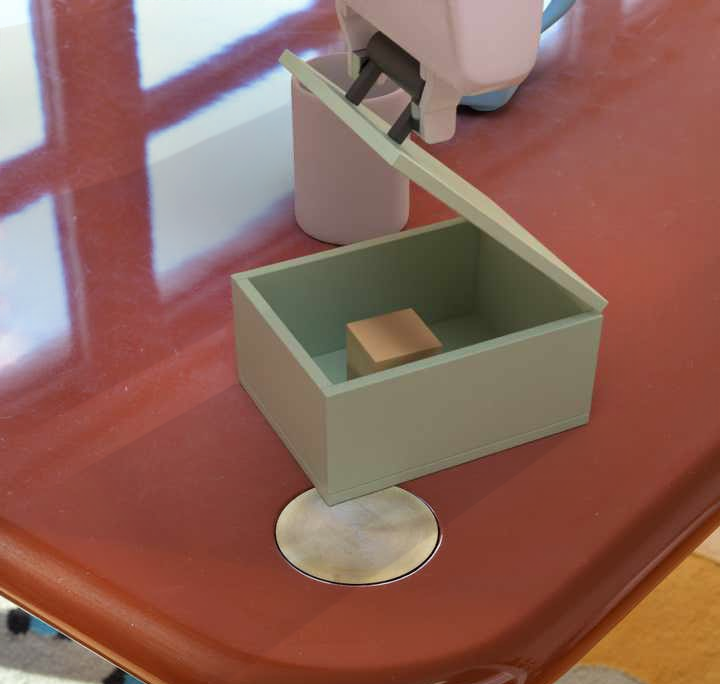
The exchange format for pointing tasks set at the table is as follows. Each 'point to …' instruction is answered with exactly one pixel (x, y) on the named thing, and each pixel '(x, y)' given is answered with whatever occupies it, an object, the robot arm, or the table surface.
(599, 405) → the table surface
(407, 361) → the block
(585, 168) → the table surface
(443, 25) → the robot arm
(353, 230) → the mug
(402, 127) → the green box lid
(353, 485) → the green hinged box
